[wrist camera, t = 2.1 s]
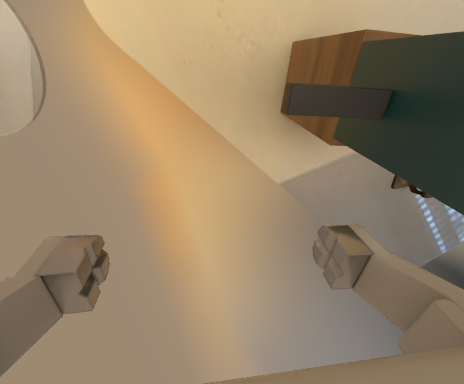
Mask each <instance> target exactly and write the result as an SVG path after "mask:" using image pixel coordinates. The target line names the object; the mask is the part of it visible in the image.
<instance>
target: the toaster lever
mask: <svg viewBox="0 0 464 384" xmlns="http://www.w3.org/2000/svg"><path fill="white" fill-rule="evenodd" d="M392 92H393V91H392V90H388V89H382V88H368V87H353V86H339V85H325V84H310V83H296V82H287V83H286V89H285V95H284V100H283V106H282V112H283V113H285V114H287V115H297V116H319V117H341V118H363V119H382V117H383V114H384V112H385V109H386V107H387V104H388V102H389V100H390V97H391V95H392Z"/></svg>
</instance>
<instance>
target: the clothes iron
mask: <svg viewBox="0 0 464 384" xmlns="http://www.w3.org/2000/svg"><path fill="white" fill-rule="evenodd" d="M407 186H409V188H410V191H411V192H413V193H416V194H419V195H421V196H422V197H424V198H431V197H432V196H430V195H429V194H427V193H425V192H424V191H422V192H421V191H418V190H417V188H416V187H415V186H414V185H412V184H410V183H409V182H407V181H405V180H403V179H402V178H400V177H398V176H397V175H395V178H394V181H393V184H392V189H397V188H402V187H407Z"/></svg>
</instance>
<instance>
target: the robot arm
mask: <svg viewBox="0 0 464 384" xmlns="http://www.w3.org/2000/svg"><path fill="white" fill-rule="evenodd" d="M318 236H319V239H317V240H316V241H315V242H314V245H313V256H314V260H315V262H316V263H317V265H318V266H320V267H321V268H322V269H324V272H323V275H324V277H325V279H326V280H327V282H328V284H329V285H330V287H331V289H332V290H333V289H350V288H353V290H354V291H355V292H356V293H358V294H359V295H360V296H361V297H362V298H364V299H365V300H366V301H367V302H369V303H370V304H371V305H372V306H373V307H375V308H376V309H377V310H378V311H379V312H381V313H382V314H383V315H384V316H386V317H387V318H388V319H389V320H390V321H392V322H393V323H394V324H395V325H397V326H398V327H399V328H400V329H401V330H403V331H404V332H405V333H404V334H403V335H402V336H401V337H400V338H399V339H398V343H397V344H398V346H399V348H400V349H401V350H402V352H403V353H404V354H403V355H396V356H389V357H382V358H376V359H369V360H362V361H356V362H349V363H341V364H335V365H328V366H321V367H314V368H308V369H301V370H295V371H288V372H280V373H273V374H267V375H260V376H253V377H247V378H240V379H233V380H226V381H219V382H212V383H206V384H464V290H463V289H461V288H459V287H457V286H455V285H453V284H451V283H449V282H447V281H445V280H443V279H441V278H439V277H437V276H435V275H434V274H432V273H429V272H428V271H426V270H424V269H422V268H420V267H418V266H416V265H414V264H412V263H410V262H408V261H406V260H404V259H402V258H400V257H398V256H396V255H394V254H392V253H391V254H388V253H387V252H386V251H385V250H384V249H383V248H382V247H381V246H380V245H379V243H378V242H377V241H376V240H375V239H374V238H373V237H372V236H371V235H370V234H369V233H368V232H367V231H366V230H365V229H364V228H363V227H362V226H360V225H358V224H352V225H336V226H322V227H321V228H320V229H319V231H318ZM103 246H104V240H103V238H102V236H99V235H85V236H51V237H49V238H47V239H45V240H44V241H43V243H42V244H41V245H40V246H39V247H38V248H37V250H36V251H35V252H34V253H33V255H32V256H31V257H30V258H29V259H28V260H27V262H26V263H25V264H24V265H23V266H22V268H21V269H20V270H19V271H18V272H17V273H16V275H15V276H14V277H13V278H6V279H5V280H3V281H1V282H0V377H1V376H2V375H3V374H4V373H5V372H6V371H7V370H8V369H9V368H10V367H11V366H12V365H13V364H14V363H15V362H16V361H17V360H18V359H19V358H20V357H21V356H22V355H23V354H24V353H25V352H26V351H27V350H28V349H29V348H30V347H32V346H33V344H35V343H36V342H37V341H38V340H39V339H40V337H42V336H43V335H44V334H45V333H46V332H47V331H48V330H49V329H50V328H51V327H52V326H53V325H54V324H55V323H56V322H57V321H58V320H59V319H60V318H61V317H62V316H63V315H62V314H69V313H79V312H87V311H93V309H94V306H95V304H96V302H97V299H98V297H99V294H100V289H99V285H100V284H101V283H102V282H104V281H105V280H106V277H107V275H108V271H109V265H110V263H109V256H108V253H107V252H106V251H104V250H103V249H102V248H103Z"/></svg>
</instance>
